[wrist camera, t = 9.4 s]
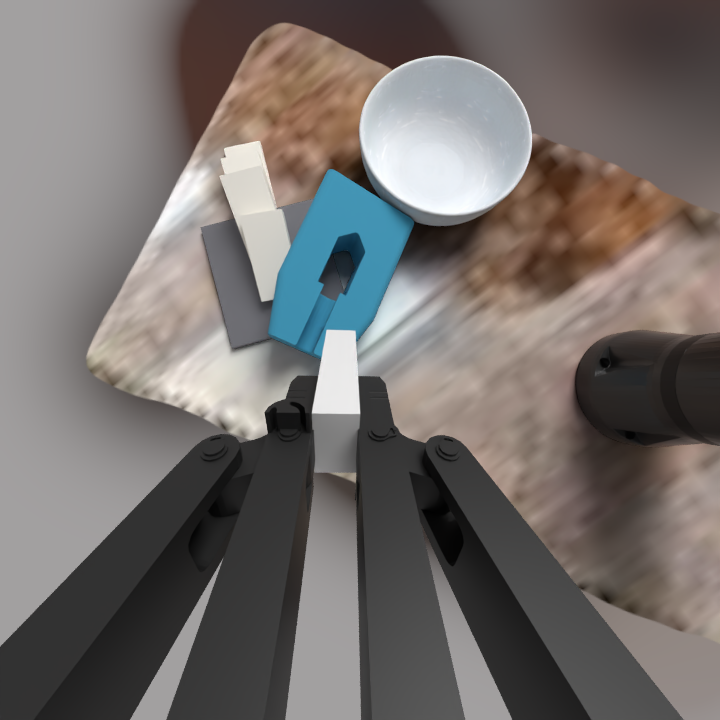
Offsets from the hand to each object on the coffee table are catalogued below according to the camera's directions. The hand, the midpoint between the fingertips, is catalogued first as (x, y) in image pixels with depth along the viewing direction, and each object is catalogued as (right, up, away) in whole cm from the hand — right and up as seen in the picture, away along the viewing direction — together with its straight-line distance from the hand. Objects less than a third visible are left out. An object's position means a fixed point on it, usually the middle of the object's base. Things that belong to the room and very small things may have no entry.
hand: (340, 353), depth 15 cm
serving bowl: (+11, +26, +24) cm, 37 cm away
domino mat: (-10, +11, +22) cm, 27 cm away
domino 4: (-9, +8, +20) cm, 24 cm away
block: (-6, +1, +17) cm, 18 cm away
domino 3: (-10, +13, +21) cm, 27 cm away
